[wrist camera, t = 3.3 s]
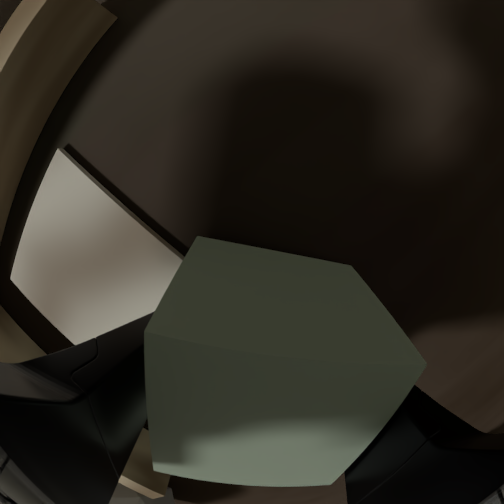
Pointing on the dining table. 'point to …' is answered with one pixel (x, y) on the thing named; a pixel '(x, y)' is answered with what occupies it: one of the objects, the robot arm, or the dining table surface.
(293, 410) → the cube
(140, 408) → the robot arm
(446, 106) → the dining table surface
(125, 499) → the die
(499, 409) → the dining table surface
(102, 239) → the wooden corner guide
